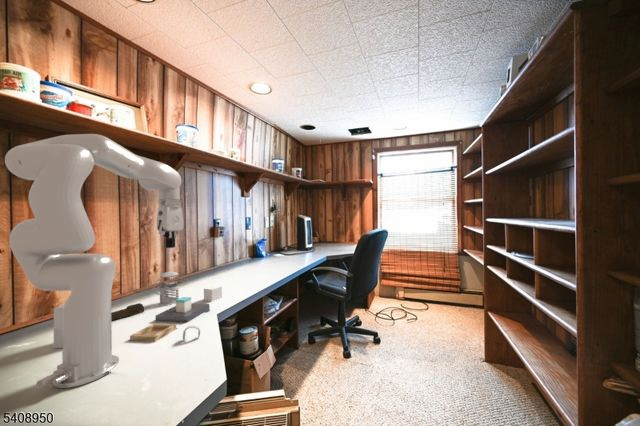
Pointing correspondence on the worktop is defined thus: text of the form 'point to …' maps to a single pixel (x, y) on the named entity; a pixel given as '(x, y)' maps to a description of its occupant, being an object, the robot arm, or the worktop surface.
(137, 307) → the hand tool
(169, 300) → the french press
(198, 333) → the wristwatch
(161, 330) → the wooden square tray
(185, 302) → the plug
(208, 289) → the white cube
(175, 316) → the port panel
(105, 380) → the worktop surface
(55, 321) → the small box
